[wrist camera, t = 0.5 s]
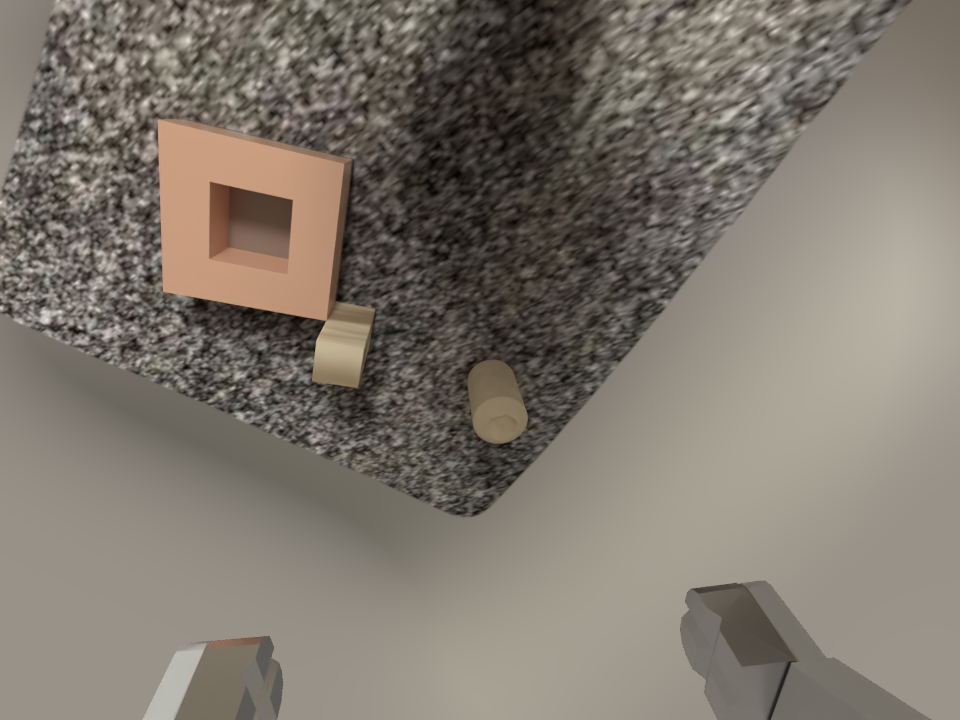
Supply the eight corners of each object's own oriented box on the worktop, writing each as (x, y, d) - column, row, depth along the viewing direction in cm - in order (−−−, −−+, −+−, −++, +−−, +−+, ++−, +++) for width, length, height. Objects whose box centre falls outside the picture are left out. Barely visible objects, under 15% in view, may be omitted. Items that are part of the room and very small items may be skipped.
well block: (189, 119, 43) (157, 119, 38) (353, 158, 45) (344, 163, 40) (190, 274, 48) (163, 291, 44) (336, 301, 51) (326, 321, 46)
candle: (457, 373, 56) (463, 422, 47) (500, 350, 55) (514, 394, 46) (481, 408, 58) (491, 461, 49) (522, 386, 57) (540, 435, 49)
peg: (336, 301, 51) (316, 340, 42) (375, 308, 52) (364, 348, 43) (332, 336, 53) (312, 380, 44) (370, 343, 53) (357, 388, 44)
